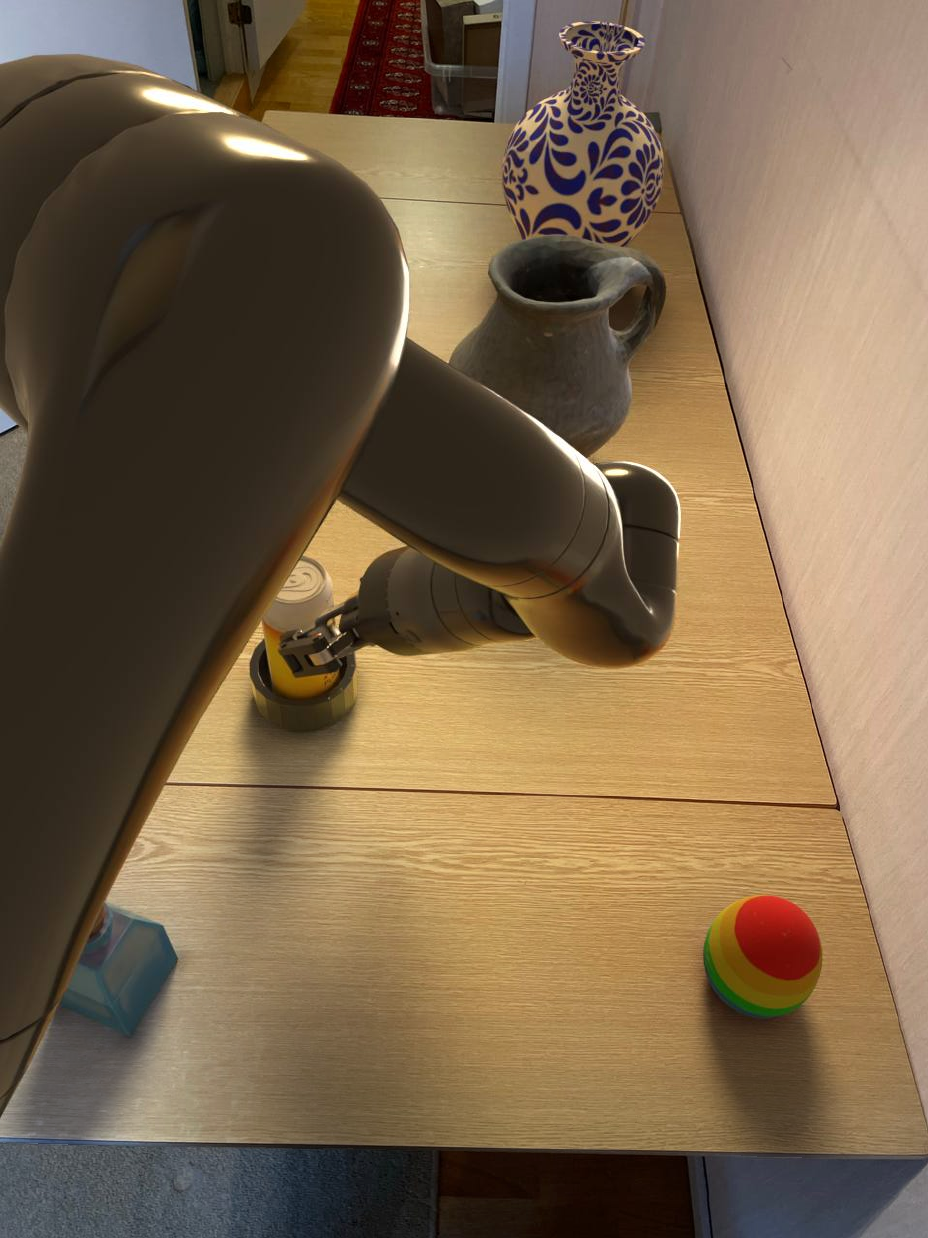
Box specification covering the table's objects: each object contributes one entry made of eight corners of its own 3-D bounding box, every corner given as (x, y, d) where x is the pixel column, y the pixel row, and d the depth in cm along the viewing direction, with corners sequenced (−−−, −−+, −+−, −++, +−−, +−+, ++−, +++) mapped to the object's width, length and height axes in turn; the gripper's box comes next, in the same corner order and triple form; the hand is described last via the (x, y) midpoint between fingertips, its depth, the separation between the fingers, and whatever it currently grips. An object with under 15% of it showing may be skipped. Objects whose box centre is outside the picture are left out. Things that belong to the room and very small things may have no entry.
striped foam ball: (681, 1002, 74) (713, 951, 66) (708, 908, 79) (741, 850, 71) (788, 1050, 72) (834, 1002, 64) (809, 950, 77) (854, 895, 69)
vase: (613, 324, 132) (659, 88, 109) (469, 280, 137) (484, 46, 114) (662, 252, 145) (712, 28, 122) (528, 214, 150) (552, -7, 127)
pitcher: (436, 399, 119) (443, 200, 100) (610, 397, 122) (650, 201, 103) (449, 516, 106) (461, 313, 87) (645, 511, 108) (698, 312, 89)
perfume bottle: (57, 1003, 71) (7, 938, 62) (107, 927, 75) (67, 855, 66) (130, 1037, 70) (90, 976, 61) (178, 958, 74) (147, 889, 65)
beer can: (342, 712, 88) (334, 603, 77) (274, 719, 87) (255, 609, 76) (337, 659, 92) (329, 547, 81) (272, 666, 91) (254, 553, 80)
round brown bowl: (361, 727, 88) (360, 701, 85) (255, 737, 87) (250, 712, 84) (353, 646, 94) (351, 619, 91) (253, 654, 93) (248, 627, 90)
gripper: (482, 495, 67) (368, 531, 81) (329, 606, 60) (232, 625, 73) (533, 587, 69) (414, 607, 83) (391, 706, 62) (285, 707, 75)
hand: (328, 616), depth 78 cm, fingers open, 8 cm apart
